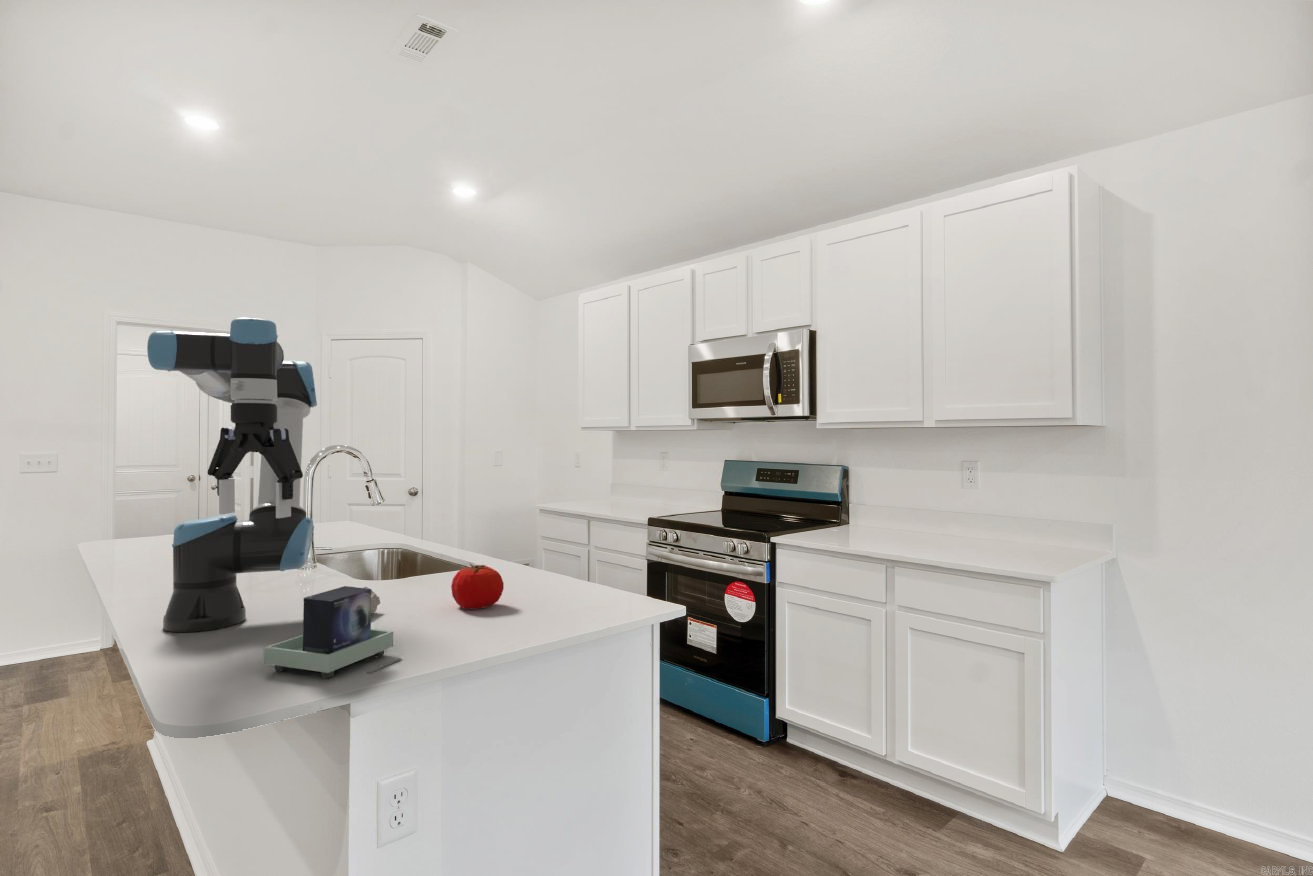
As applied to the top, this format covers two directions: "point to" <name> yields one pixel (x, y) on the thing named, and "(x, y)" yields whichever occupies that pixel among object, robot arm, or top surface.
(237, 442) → the robot arm
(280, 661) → the green footed tray
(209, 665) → the top surface
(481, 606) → the tomato
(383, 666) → the strip
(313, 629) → the small box
